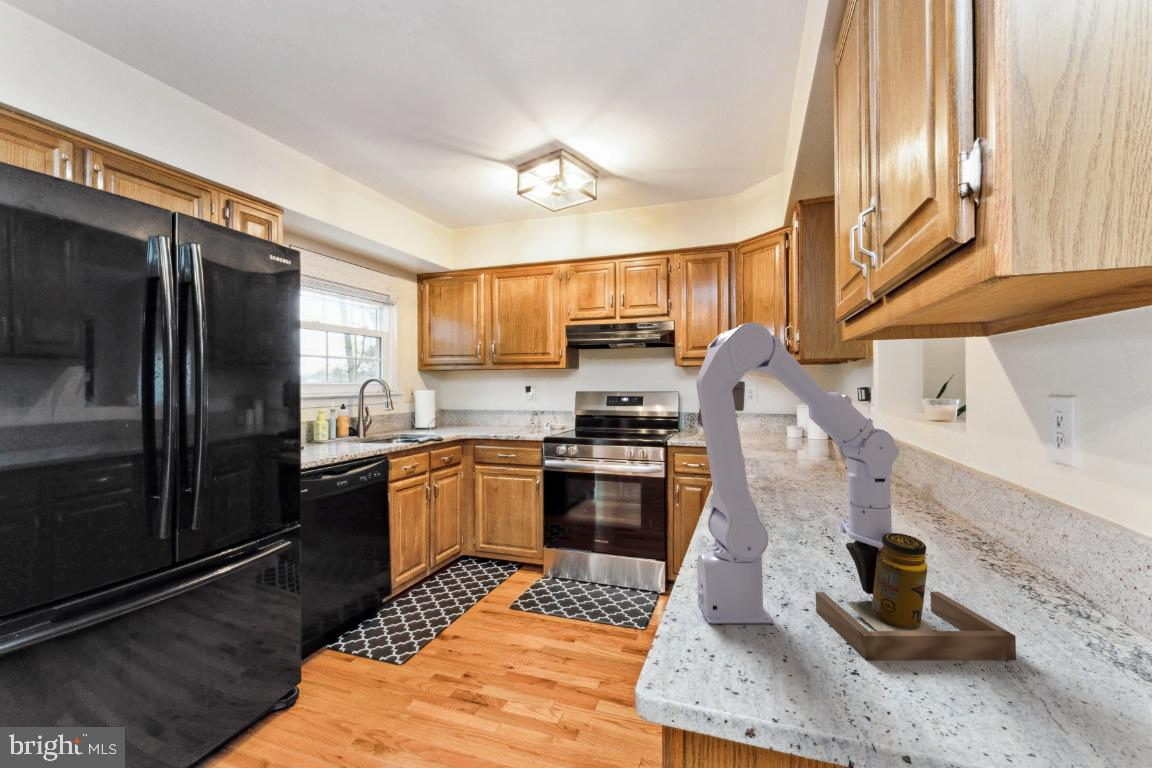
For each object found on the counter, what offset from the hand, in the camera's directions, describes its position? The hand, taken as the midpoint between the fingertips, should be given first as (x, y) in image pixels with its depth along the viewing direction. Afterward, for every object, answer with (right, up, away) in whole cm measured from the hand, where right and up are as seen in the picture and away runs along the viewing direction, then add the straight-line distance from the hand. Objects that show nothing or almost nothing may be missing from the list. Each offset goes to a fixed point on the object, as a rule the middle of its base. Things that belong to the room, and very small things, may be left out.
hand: (872, 592), depth 74 cm
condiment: (0, -2, -4) cm, 5 cm away
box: (0, -2, -8) cm, 8 cm away
